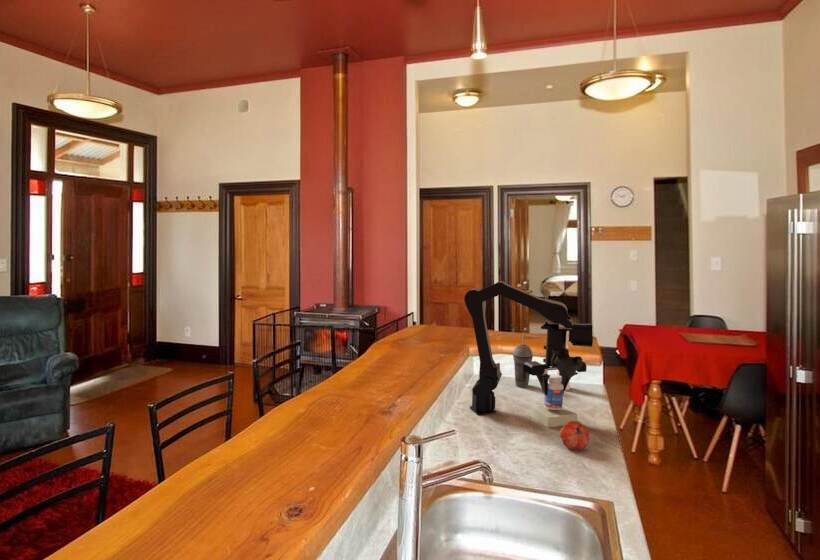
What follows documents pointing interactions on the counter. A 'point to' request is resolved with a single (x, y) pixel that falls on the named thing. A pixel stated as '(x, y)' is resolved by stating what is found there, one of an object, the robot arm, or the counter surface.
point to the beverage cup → (520, 357)
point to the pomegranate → (575, 435)
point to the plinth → (552, 415)
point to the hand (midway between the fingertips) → (553, 394)
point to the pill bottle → (554, 393)
